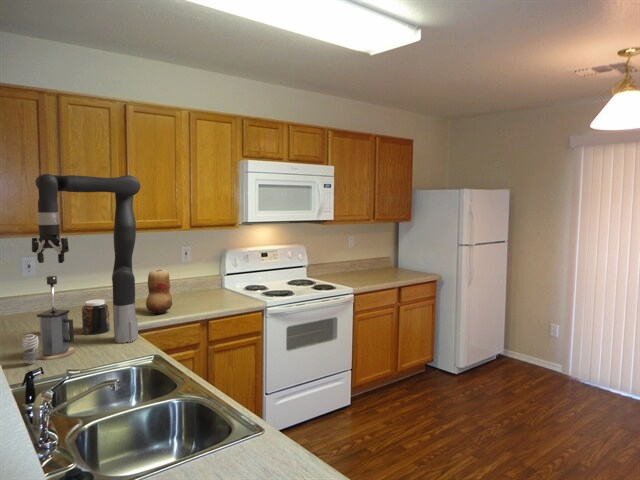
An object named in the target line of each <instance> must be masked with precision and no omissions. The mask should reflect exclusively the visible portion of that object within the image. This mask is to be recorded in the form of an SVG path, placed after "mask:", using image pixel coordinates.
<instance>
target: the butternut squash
mask: <svg viewBox="0 0 640 480" xmlns="http://www.w3.org/2000/svg"><path fill="white" fill-rule="evenodd" d="M170 282H171V281H170V273H169V271H168V270H167V269H164V268H157V269H152V270H151V271H150V272H149V273H148V275H147V288H148V295H147V297H146V300H145V306H146V309H147V310H148V311H149V312H150V313H153V314H157V315H159V314H164V313H165V312H167V311H168V310H170V309H171V307H172V306H173V300H172V294H171V292H170V289H171V283H170Z"/></svg>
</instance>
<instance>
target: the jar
mask: <svg viewBox="0 0 640 480" xmlns="http://www.w3.org/2000/svg"><path fill="white" fill-rule="evenodd" d="M110 321H111V318H110V306H109V304H108V303H106V300H105V299H91V300H87V301H85V305H83V306H82V307H81V324H82V334H83V335H88V336H89V335H90V336H91V335H92V336H93V335H100V334H105V333H108V332H110V329H111V325H110V323H111V322H110Z"/></svg>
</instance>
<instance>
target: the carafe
mask: <svg viewBox="0 0 640 480" xmlns="http://www.w3.org/2000/svg"><path fill="white" fill-rule="evenodd" d="M69 313H70V310H69V309H56V310H55V313H52V310H51V309H49V310H46V311H43V312H41V313H38V314H36V318H39V331H40V333H39V334H40V336H39V337H40V351H42V355H44V356H56V355H61V354H64V353H66V352H68V351H69V347H70V343H74V342H75V337H74V335H75V334H74V319H69Z"/></svg>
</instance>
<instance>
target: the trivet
mask: <svg viewBox="0 0 640 480" xmlns="http://www.w3.org/2000/svg"><path fill="white" fill-rule="evenodd" d="M73 354H75V348H74V347H72V346H69V351H68V352H66V353H64V354H61V355H56V356H44V355H42V351H41V350H39V357H38V358H37V360H43V361H49V360H51V361H52V360H57V359H63V358H67V357H69V356H71V355H73Z"/></svg>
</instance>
